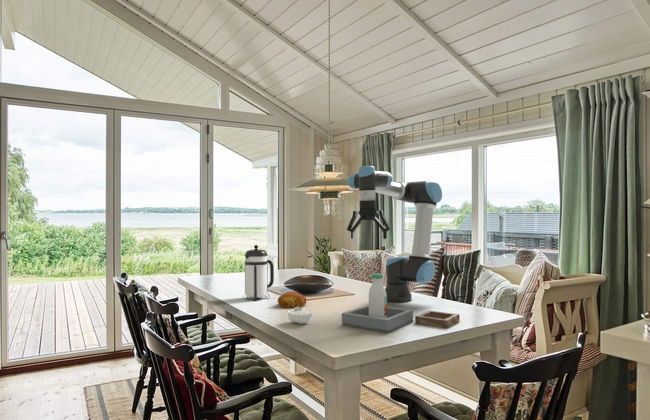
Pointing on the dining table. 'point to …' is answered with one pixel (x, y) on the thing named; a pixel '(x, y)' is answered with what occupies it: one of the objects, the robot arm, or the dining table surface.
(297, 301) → the croissant
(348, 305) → the dining table surface
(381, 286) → the milk bottle
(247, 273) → the coffee press
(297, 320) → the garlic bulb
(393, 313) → the charcoal tray
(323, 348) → the dining table surface
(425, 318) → the wooden square tray
